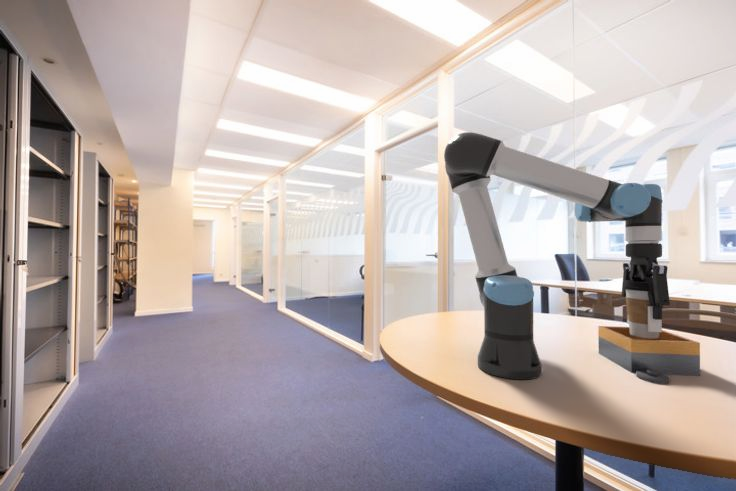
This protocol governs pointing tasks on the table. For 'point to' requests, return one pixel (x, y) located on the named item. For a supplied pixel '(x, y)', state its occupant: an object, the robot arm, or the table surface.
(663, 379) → the disc
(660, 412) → the table surface
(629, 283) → the coffee cup
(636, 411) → the table surface
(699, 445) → the table surface
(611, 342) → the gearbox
